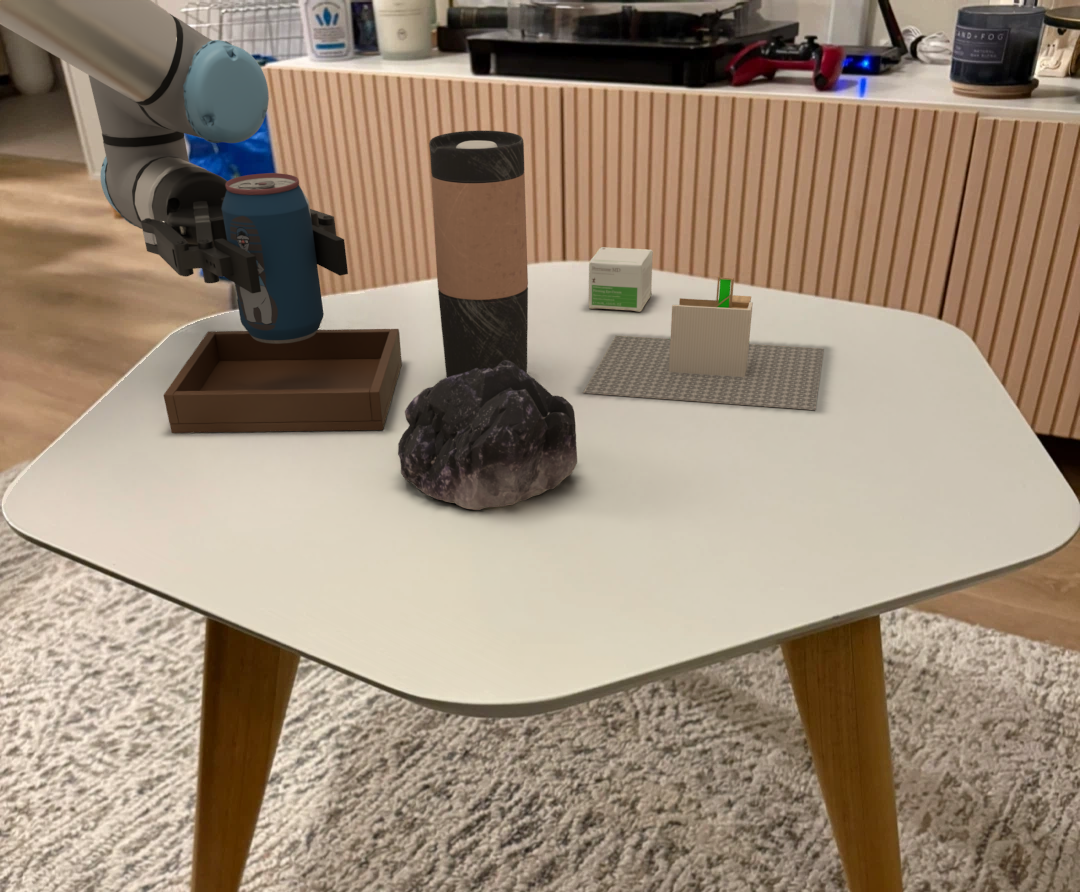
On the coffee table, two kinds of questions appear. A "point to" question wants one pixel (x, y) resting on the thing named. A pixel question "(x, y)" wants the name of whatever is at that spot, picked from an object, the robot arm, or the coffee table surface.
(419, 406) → the crystal cluster
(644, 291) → the small box
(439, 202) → the travel mug
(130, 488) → the coffee table surface
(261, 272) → the soda can
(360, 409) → the tray
